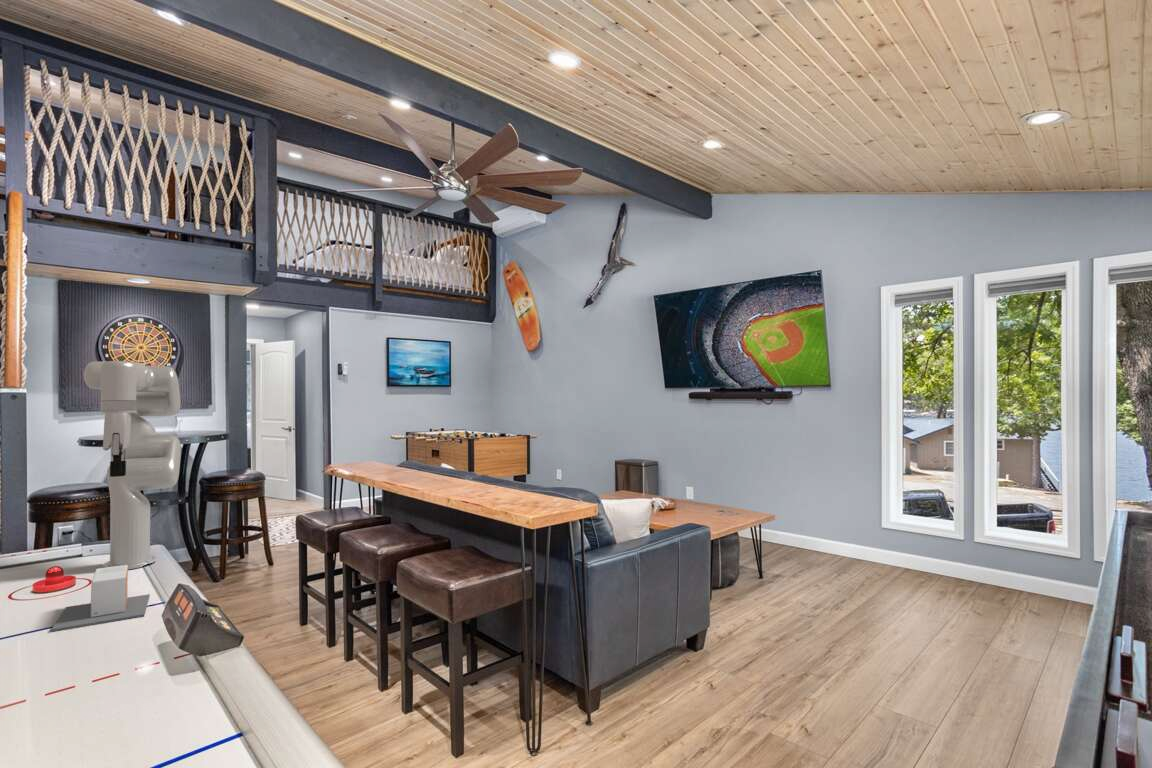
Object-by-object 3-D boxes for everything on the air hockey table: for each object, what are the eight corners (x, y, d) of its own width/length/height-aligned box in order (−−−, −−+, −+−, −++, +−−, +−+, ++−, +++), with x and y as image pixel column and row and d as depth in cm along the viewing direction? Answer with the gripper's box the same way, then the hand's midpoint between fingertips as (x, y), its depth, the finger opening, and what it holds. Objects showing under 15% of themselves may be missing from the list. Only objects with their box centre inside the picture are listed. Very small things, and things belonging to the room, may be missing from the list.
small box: (128, 596, 145) (125, 612, 134) (95, 601, 141) (89, 618, 131) (128, 563, 145) (126, 577, 134) (95, 567, 141) (90, 582, 131)
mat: (65, 609, 138) (66, 606, 138) (149, 596, 146) (149, 594, 146) (51, 631, 124) (51, 629, 124) (144, 616, 133) (144, 614, 133)
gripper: (104, 407, 160) (103, 474, 160) (96, 408, 147) (95, 480, 147) (138, 406, 164) (138, 472, 164) (133, 407, 151) (132, 478, 151)
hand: (117, 475), depth 155 cm, fingers closed
